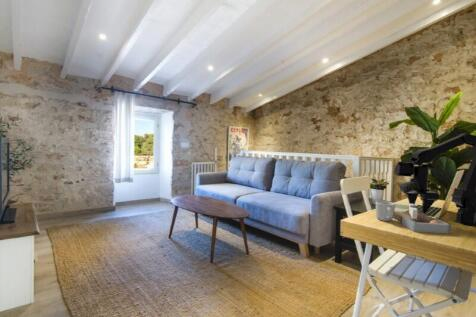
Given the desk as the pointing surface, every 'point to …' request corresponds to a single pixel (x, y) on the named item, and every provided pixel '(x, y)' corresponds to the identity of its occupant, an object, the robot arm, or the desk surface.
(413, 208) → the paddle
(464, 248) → the desk surface
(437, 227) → the bin
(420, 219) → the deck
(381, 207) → the cup
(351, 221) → the desk surface
